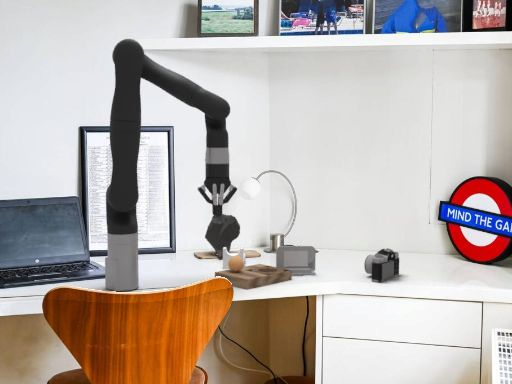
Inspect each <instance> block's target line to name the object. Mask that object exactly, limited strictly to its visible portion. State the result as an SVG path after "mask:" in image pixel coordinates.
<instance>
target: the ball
mask: <svg viewBox="0 0 512 384" xmlns="http://www.w3.org/2000/svg"><path fill="white" fill-rule="evenodd" d="M228 266H229V268H230V270H232V271H234V272H238V271H240V270H241V269H242V268H243V267H245V263H244V262H243V260H242V259H241V258H240V257H238V256H234V257H232V258H230V260H229V262H228Z"/></svg>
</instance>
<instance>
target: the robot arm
mask: <svg viewBox="0 0 512 384" xmlns="http://www.w3.org/2000/svg"><path fill="white" fill-rule="evenodd" d="M111 57H112V61H113V64H114V78H115V81H114V91H113V97H112V102H111V107H110V115H109V118H110V119H109V146H110V154H111V162H112V169H111V178H110V184H109V185H108V187H107V188H106V191H105V192H106V193H105V213H106V214H105V215H106V216H105V218H106V227H107V228H106V230H107V232H106V233H107V234H106V236H107V239H106V240H107V241H106V242H107V256H106V257H105V258H104V268H105V269H104V271H105V272H104V275H105V278H104V279H105V281H104V282H105V286H104V287H105V289H106V290H107V289H108V290H111V291H114V292H121V291H124V292H125V291H126V292H127V291H133V290H135V289H138V288H139V285H140V284H139V282H140V281H139V280H140V279H139V225H138V218H137V217H138V216H137V204H138V202H139V196H140V194H139V182H138V162H139V154H140V153H139V152H140V146H141V135H142V133H141V132H142V99H141V81H142V80H145V81H147V82H149V83H151V84H153V85H154V86H156V87H158V88H159V89H161V90H163V91H164V92H165V93H167V94H169V95H170V96H172V97H173V98H175V99H176V100H178V101H180V102H182V103H184V104H185V105H187V106H189V107H191V108H194V109H197V110H199V111H200V112H202V113H203V114H204V123H205V124H204V125H205V129H206V137H205V143H206V146H205V157H204V161H205V178H204V181H203V184H202V185H200V186H198V187H197V191H198V192H199V194H200V195H201V196H202V198H203V199H204V201H206V203H208V204H211V205H212V211H211V212H212V216H215V217H220V215H222V214H223V205H225V204H228V203H229V202H230V200H231V199H232V198H233V196H234V195H235V194H236V192H237V191H238V188H237V187H236V186H234V185H233V184H232V182H231V179H230V151H229V132H228V130H227V118H228V117H229V115H230V113H231V106H230V104H229V102H228V101H227V100H226V99H225V98H223V97H221V96H220V95H218V94H216V93H213V92H212V91H209V90H207V89H205V88H203V87H202V86H200V84H197V83H196V82H195V81H192V80H191V79H189V78H187V77H186V76H184V75H182V74H180V73H177V72H175V71H173V70H172V69H169V68H167V67H164V66H163V65H161V64H159V63H158V62H156V61H155V60H153V59H152V58H150V57H149V56H148V55H147V54H145V51H144V48H143V47H142V45H141V44H140V43H139V42H138V40H135V39H133V38H125V39H122V40H120V41H119V42H117V44H116V45H115V46H114V47H113V50H112V56H111ZM227 190H228V193H227V194H226V195H225V193H226V192H227ZM206 191H208V192H209V193H210V194H211V195H210V197H211V198H210V197H209V196H208V194H207V193H206ZM224 196H225V197H224Z"/></svg>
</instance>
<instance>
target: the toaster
mask: <svg viewBox="0 0 512 384" xmlns="http://www.w3.org/2000/svg"><path fill="white" fill-rule="evenodd" d="M275 254H276V255H275V267H277V268H282V269H287V270H292V277H294V276H295V277H296V276H301V277H302V276H303V277H304V276H316V256H317V255H316V248H315V247H314V246H312V245H280V246H278V247H277V248H276V251H275Z"/></svg>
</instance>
